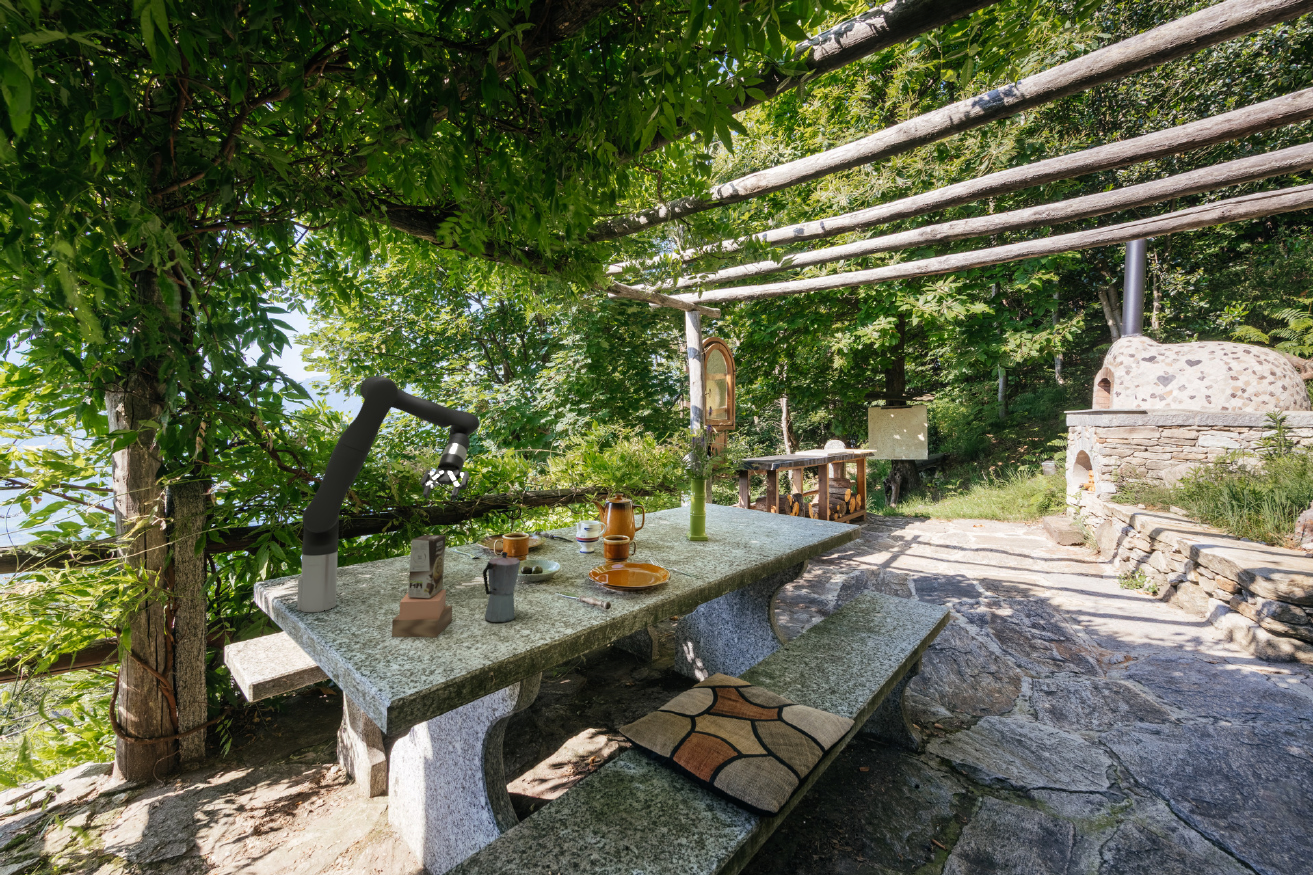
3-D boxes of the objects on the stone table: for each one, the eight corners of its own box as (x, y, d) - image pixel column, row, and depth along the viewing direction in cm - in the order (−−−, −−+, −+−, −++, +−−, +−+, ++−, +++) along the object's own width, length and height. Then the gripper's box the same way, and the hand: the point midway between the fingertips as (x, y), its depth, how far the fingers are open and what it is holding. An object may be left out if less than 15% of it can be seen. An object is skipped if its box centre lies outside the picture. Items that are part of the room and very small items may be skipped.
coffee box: (430, 598, 144) (433, 540, 144) (407, 597, 144) (410, 539, 144) (443, 589, 153) (446, 534, 153) (421, 588, 153) (424, 533, 153)
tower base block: (391, 637, 141) (392, 619, 141) (410, 621, 153) (411, 604, 153) (436, 638, 142) (437, 620, 142) (451, 622, 154) (452, 605, 154)
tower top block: (399, 620, 141) (400, 601, 141) (408, 607, 151) (409, 590, 151) (438, 618, 143) (439, 600, 143) (445, 606, 153) (446, 589, 153)
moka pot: (527, 612, 163) (529, 549, 163) (497, 630, 148) (499, 560, 148) (501, 608, 166) (503, 546, 166) (469, 624, 151) (471, 556, 151)
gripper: (428, 451, 175) (413, 489, 163) (471, 453, 175) (459, 491, 164) (434, 466, 180) (419, 503, 169) (476, 467, 181) (464, 505, 169)
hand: (439, 497), depth 166 cm, fingers open, 8 cm apart
